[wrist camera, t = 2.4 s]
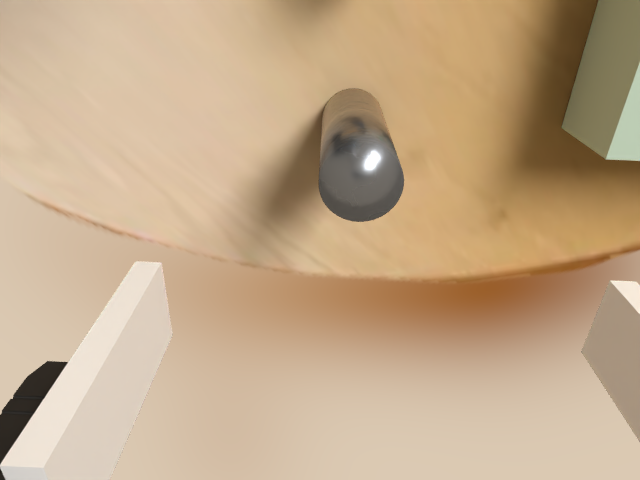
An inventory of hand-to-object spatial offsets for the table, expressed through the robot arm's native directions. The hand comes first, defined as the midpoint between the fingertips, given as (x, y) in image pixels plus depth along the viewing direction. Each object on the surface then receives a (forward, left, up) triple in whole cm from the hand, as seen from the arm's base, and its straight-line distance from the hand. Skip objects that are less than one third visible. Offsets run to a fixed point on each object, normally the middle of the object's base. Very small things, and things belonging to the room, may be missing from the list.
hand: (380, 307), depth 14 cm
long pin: (0, 0, -20) cm, 20 cm away
